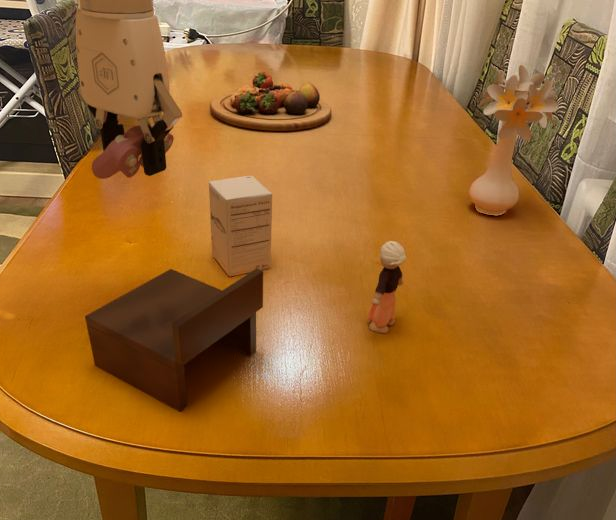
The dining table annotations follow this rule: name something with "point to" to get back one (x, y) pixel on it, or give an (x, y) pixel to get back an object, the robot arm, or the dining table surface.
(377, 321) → the grandmother figurine
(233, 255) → the white packaging box
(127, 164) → the pink toy car
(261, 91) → the wooden plate
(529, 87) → the flower vase
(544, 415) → the dining table surface
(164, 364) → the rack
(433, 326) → the dining table surface
